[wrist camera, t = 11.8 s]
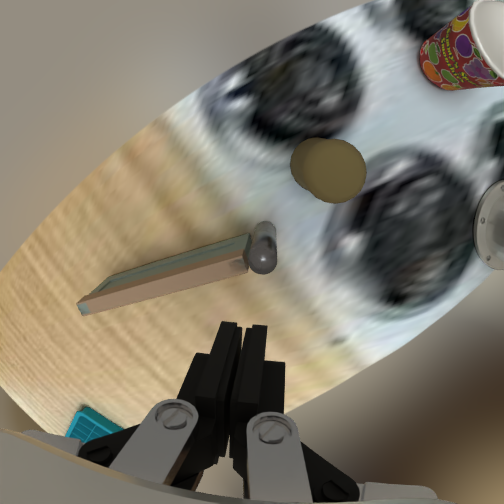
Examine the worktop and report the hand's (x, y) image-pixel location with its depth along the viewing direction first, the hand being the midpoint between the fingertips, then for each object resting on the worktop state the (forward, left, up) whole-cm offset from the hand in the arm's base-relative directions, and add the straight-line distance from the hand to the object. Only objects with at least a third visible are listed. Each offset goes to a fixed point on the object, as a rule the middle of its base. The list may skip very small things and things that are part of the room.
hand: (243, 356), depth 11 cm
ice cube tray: (+30, +48, -26) cm, 62 cm away
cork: (-5, -6, -25) cm, 26 cm away
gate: (+10, +6, -24) cm, 27 cm away
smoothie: (-19, -21, -25) cm, 38 cm away
